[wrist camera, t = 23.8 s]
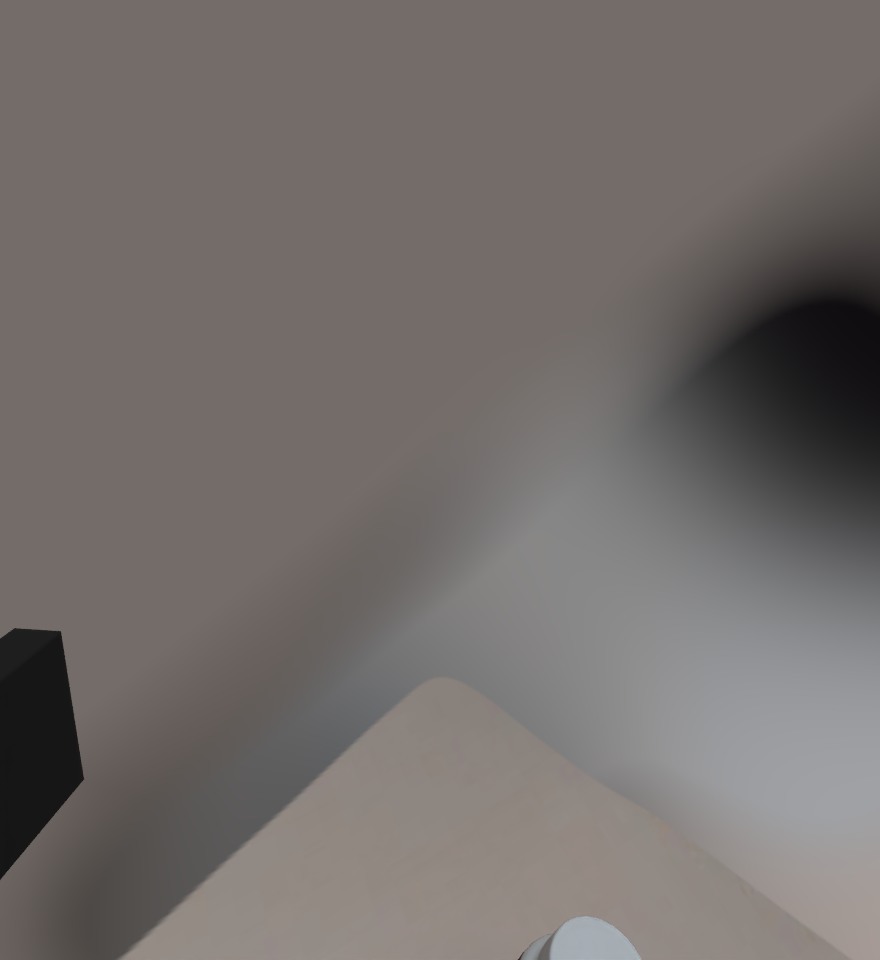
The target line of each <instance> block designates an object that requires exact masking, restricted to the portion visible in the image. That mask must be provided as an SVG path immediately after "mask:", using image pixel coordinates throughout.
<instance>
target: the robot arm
mask: <svg viewBox="0 0 880 960" xmlns="http://www.w3.org/2000/svg"><path fill="white" fill-rule="evenodd" d="M83 780H84V777H83V770H82V764H81V757H80V751H79V745H78V738H77V732H76V725H75V720H74V713H73V706H72V700H71V693H70V687H69V681H68V674H67V668H66V661H65V655H64V649H63V642H62V636H61V631H47V630H31V629H16V628H15V629H13V630H12V631H10V632H9V633H7V634H6V635H5V636H3V637H2V638H1V639H0V879H1V878H2V877H3V876H4V875H5V873H6V872H7V871H8V870H9V869H10V867H11V866H12V865H13V864H14V862H15V861H16V860H17V859H18V858H19V857H20V855H21V854H22V853H23V852H24V851H25V849H26V848H27V847H28V845H30V843H31V842H32V841H33V840H34V839H35V837H36V836H37V835H38V834H39V833H40V831H41V830H42V829H43V828H44V826H45V825H46V824H47V823H48V822H49V821H50V819H51V818H52V817H53V816H54V814H55V813H56V812H57V811H58V810H59V809H60V807H61V806H62V805H63V804H64V803H65V801H66V800H67V799H68V798H69V796H70V795H71V794H72V793H73V792H74V791H75V789H76V788H77V787H78V786H79V784H80V783H81V782H82V781H83Z"/></svg>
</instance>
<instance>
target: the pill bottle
mask: <svg viewBox="0 0 880 960" xmlns="http://www.w3.org/2000/svg"><path fill="white" fill-rule="evenodd" d="M518 960H642V959H641V957H640V956H639V954H638V952H637V951H636V949H635V948H634V946H633V945H632V944H631V942H630V941H629V940H628V939H627V938H626V937H625V936H624V935H623V934H622V933H621V932H620V931H619V930H618V929H616V928H615V927H614V926H612V925H611V924H609V923H607V922H605V921H603V920H601V919H598V918H595V917H590V916H579V917H575V918H572V919H570V920H568V921H566V922H565V923H563V924H562V925H561V926H560V927H559V928H558V929H557V930H556V931H555V932H554V933H553V934H549V935H546V936H543V937H541V938H539V939H538V940H536V941H535V942H533V943H532V944H531V945H530V946H529V947H528V948H527V949H526V951H525V952H523V953H522V955H521V956H520V958H519V959H518Z"/></svg>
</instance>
